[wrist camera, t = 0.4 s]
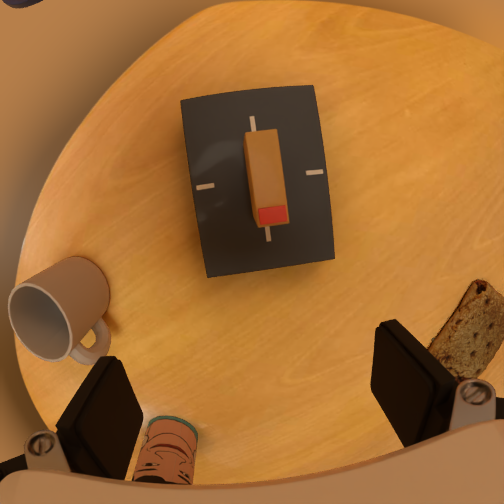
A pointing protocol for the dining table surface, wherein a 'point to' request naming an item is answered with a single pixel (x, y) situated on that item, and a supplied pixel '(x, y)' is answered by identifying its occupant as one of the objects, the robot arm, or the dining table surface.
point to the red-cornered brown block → (265, 178)
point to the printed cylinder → (167, 452)
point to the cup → (62, 311)
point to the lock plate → (237, 187)
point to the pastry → (471, 333)
